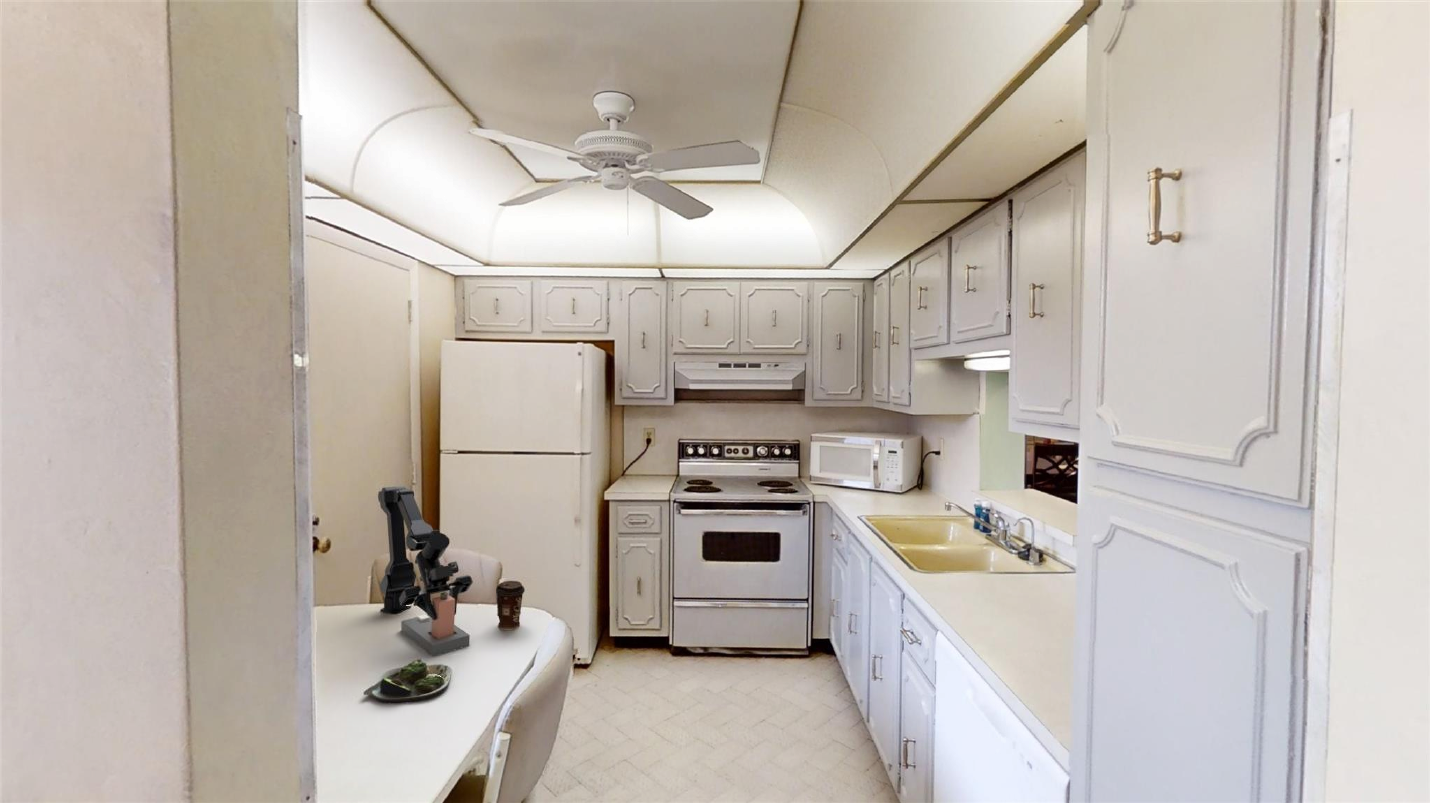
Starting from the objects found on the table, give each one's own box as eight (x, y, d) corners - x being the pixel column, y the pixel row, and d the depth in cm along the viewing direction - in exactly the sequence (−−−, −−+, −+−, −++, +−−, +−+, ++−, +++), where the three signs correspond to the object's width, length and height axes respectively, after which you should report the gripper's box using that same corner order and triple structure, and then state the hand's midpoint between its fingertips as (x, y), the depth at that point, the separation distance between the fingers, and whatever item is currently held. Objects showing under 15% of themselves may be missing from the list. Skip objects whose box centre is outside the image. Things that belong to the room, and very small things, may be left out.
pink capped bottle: (430, 644, 166) (432, 593, 165) (446, 639, 169) (448, 589, 169) (437, 649, 163) (439, 597, 162) (453, 644, 166) (455, 593, 166)
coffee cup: (487, 628, 177) (489, 585, 177) (504, 618, 185) (506, 577, 185) (512, 633, 175) (514, 590, 175) (528, 623, 183) (530, 581, 182)
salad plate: (384, 667, 151) (384, 650, 151) (458, 663, 156) (459, 646, 156) (357, 708, 133) (358, 687, 133) (443, 701, 137) (444, 682, 137)
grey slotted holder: (401, 630, 173) (401, 617, 173) (435, 621, 180) (436, 609, 180) (432, 656, 158) (433, 642, 158) (469, 645, 166) (469, 632, 166)
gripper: (405, 559, 161) (419, 610, 154) (471, 548, 175) (487, 594, 168) (392, 580, 166) (406, 631, 159) (458, 567, 180) (473, 613, 173)
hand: (445, 616), depth 165 cm, fingers open, 5 cm apart
